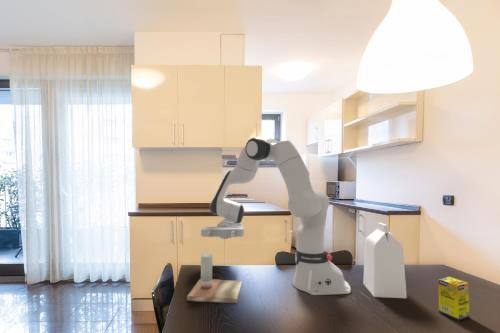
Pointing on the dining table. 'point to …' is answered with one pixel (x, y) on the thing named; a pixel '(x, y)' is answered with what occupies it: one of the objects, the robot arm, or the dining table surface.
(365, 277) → the milk
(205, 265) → the grey-green rectangular block
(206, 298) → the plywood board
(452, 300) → the supplement box
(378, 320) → the dining table surface
